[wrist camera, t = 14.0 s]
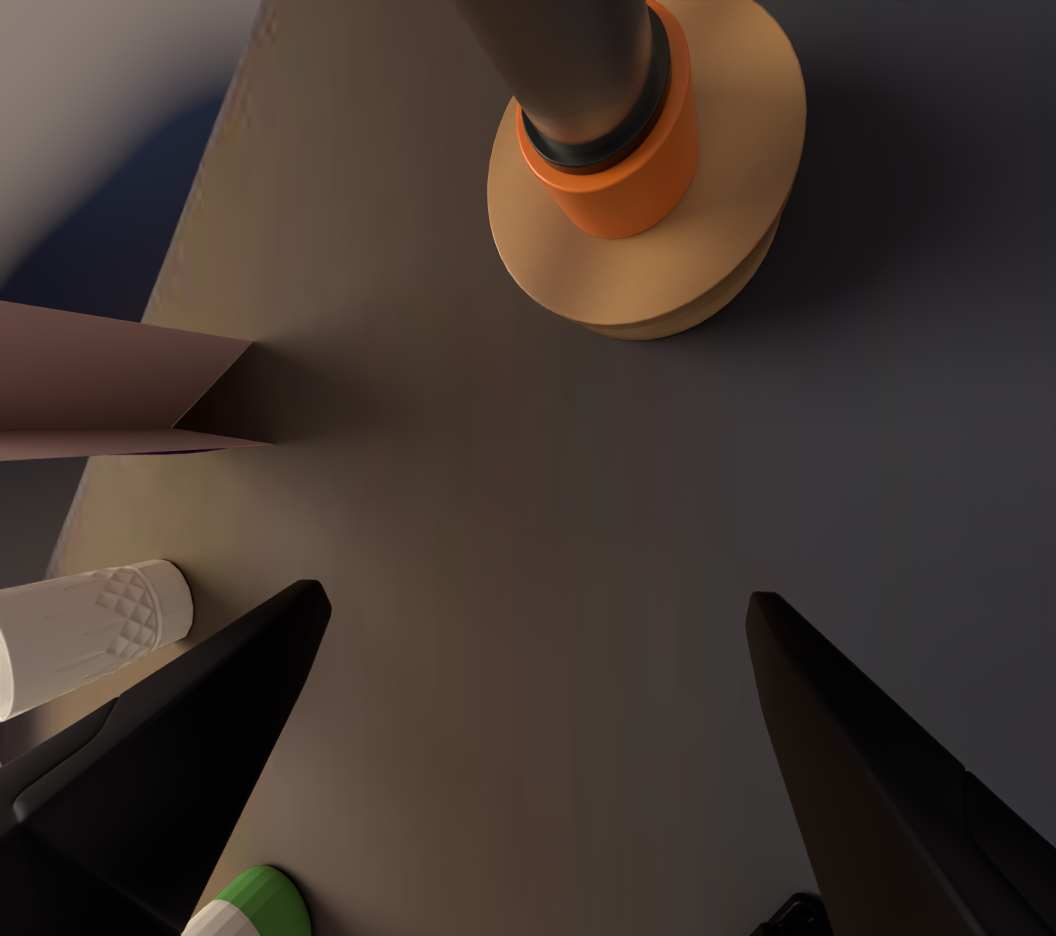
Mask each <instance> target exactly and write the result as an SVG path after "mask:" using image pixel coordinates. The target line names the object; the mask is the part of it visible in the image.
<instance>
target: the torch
mask: <svg viewBox="0 0 1056 936" xmlns="http://www.w3.org/2000/svg"><path fill="white" fill-rule="evenodd" d="M450 2H451V3H452V5H453V6H454V8H455V9H456V11H457V12H458V14H459V15H460V17H461V18H462V20H463V21H464V23H465V24H466V26H467V27H468V28H469V30H470V31H471V33H472V34H473V36H474V37H475V39H476V40H477V42H478V43H479V45H480V46H481V48H482V49H483V51H484V52H485V54H486V55H487V57H488V58H489V60H490V61H491V63H492V64H493V66H494V67H495V69H496V70H497V72H498V73H499V75H500V76H501V78H502V79H503V81H504V82H505V84H506V85H507V87H508V88H509V90H510V91H511V92H512V94H513V95H514V97H515V98H516V100H517V101H518V104H517V115H516V125H517V136H518V142H519V146H520V149H521V153H522V155H523V157H524V159H525V162H526V163H527V165H528V167H529V168H530V170H531V171H532V172H533V174H534V175H535V176H536V177H537V179H538V180H539V181H540V182H541V184H542V185H543V186H544V187H545V189H546V190H547V191H548V192H549V194H550V195H551V196H552V197H553V198H554V200H555V201H556V202H557V203H558V205H559V206H560V207H561V208H562V210H563V211H564V212H565V213H566V215H567V216H568V217H569V218H570V219H571V221H572V222H573V223H574V224H575V225H576V226H577V227H579V228H580V229H581V230H583V231H584V232H586V233H588V234H590V235H593V236H596V237H600V238H608V239H616V238H624V237H629V236H632V235H635V234H638V233H640V232H642V231H644V230H646V229H648V228H650V227H652V226H653V225H655V224H656V223H658V222H659V221H660V220H661V219H663V218H664V217H665V216H666V215H667V214H668V213H669V212H670V211H671V210H672V209H673V208H674V207H675V205H676V204H677V203H678V202H679V200H680V199H681V198H682V196H683V194H684V193H685V191H686V190H687V188H688V186H689V184H690V182H691V180H692V177H693V174H694V171H695V168H696V164H697V160H698V153H699V133H698V124H697V116H696V107H695V98H694V89H693V80H692V71H691V62H690V55H689V48H688V44H687V41H686V37H685V34H684V32H683V30H682V28H681V26H680V24H679V22H678V21H677V20H676V18H675V17H674V16H673V14H672V13H671V12H670V11H668V10H667V9H666V8H665V7H664V6H663V5H661V4H660V3H658V2H657V1H655V0H450Z"/></svg>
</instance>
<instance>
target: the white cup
mask: <svg viewBox="0 0 1056 936" xmlns="http://www.w3.org/2000/svg"><path fill="white" fill-rule="evenodd" d="M192 620H193V603H192V597H191V594H190V589H189V587H188V585H187V583H186V581H185V579H184V577H183V575H182V573H181V572H180V571H179V570H178V569H177V568H176V567H175V566H174V565H173V564H172V563H171V562H169V561H165V560H160V559H155V560H150V561H145V562H140V563H136V564H131V565H126V566H123V567H112V568H105V569H100V570H96V571H92V572H86V573H79V574H73V575H68V576H63V577H58V578H53V579H49V580H44V581H39V582H34V583H30V584H24V585H20V586H15V587H10V588H5V589H0V722H4V721H6V720H8V719H10V718H13V717H15V716H17V715H19V714H21V713H24V712H26V711H28V710H30V709H32V708H35V707H37V706H39V705H41V704H44V703H46V702H48V701H50V700H52V699H54V698H57V697H59V696H61V695H63V694H66V693H68V692H70V691H72V690H75V689H77V688H79V687H81V686H84V685H86V684H89V683H91V682H93V681H95V680H97V679H99V678H101V677H102V676H104V675H106V674H109V673H112V672H114V671H116V670H119V669H121V668H123V667H125V666H126V665H128V664H130V663H133V662H135V661H138V660H140V659H142V658H143V657H145V656H146V655H147V654H150V653H152V652H153V651H155V650H157V649H160V648H162V647H164V646H167V645H169V644H171V643H173V642H175V641H178V640H180V639H182V638H184V637H186V635H187V633H188V631H189V629H190V627H191V625H192Z"/></svg>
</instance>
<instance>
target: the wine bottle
mask: <svg viewBox="0 0 1056 936" xmlns="http://www.w3.org/2000/svg"><path fill="white" fill-rule="evenodd" d="M181 936H311V923H310V918H309V914H308V911H307V908H306V906H305V903H304V901H303V899H302V897H301V895H300V894H299V892H298V890H297V889H296V887H295V886H294V885H293V883H292V882H291V881H290V880H289V879H288V878H287V877H286V876H285V875H284V874H283V873H282V872H280V871H278V870H277V869H275V868H273V867H269V866H266V865H261V866H255V867H252V868H250V869H248V870H247V871H245V872H244V873H242V874H241V875H240V876H238V877H237V878H236V879H235V880H234V881H233V882H231V883H230V884H229V885H228V886H227V887H226V888H225V889H224V890H223V891H222V892H221V893H220V894H219V895H218V896H216V897H215V898H214V899H213V900H212V901H211V902H210V903H209V904H208V905H207V906H205V907H204V908H203V909H202V910H201V911H200V912H199V913H198V914H197V915H195V916H194V917H193V918H192V919H191V920H190V921H189V922H188V924H187V926H186V928H185V930H184V932H183V933H182V934H181Z"/></svg>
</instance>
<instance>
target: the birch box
mask: <svg viewBox="0 0 1056 936" xmlns="http://www.w3.org/2000/svg"><path fill="white" fill-rule="evenodd" d="M655 1H657V2H658V3H660V4H661V5H663V6H664V7H665V8H666V9H667V10H668V11H670V12H671V13H672V14H673V16H674V17H675V18H676V20H677V21H678V22H679V24H680V26H681V28H682V30H683V32H684V34H685V37H686V41H687V44H688V48H689V55H690V62H691V71H692V80H693V89H694V98H695V107H696V116H697V124H698V133H699V153H698V160H697V164H696V168H695V171H694V174H693V177H692V180H691V182H690V184H689V186H688V188H687V190H686V191H685V193H684V194H683V196H682V198H681V199H680V200H679V202H678V203H677V204H676V205H675V207H674V208H673V209H672V210H671V211H670V212H669V213H668V214H667V215H666V216H665V217H664V218H663V219H661V220H660V221H659V222H658V223H656V224H655V225H653V226H652V227H650V228H648V229H646V230H644V231H642V232H640V233H638V234H635V235H632V236H629V237H624V238H616V239H608V238H600V237H596V236H593V235H590V234H588V233H586V232H584V231H583V230H581V229H580V228H579V227H577V226H576V225H575V224H574V223H573V222H572V221H571V219H570V218H569V217H568V216H567V215H566V213H565V212H564V211H563V210H562V208H561V207H560V206H559V205H558V203H557V202H556V201H555V200H554V198H553V197H552V196H551V195H550V194H549V192H548V191H547V190H546V189H545V187H544V186H543V185H542V184H541V182H540V181H539V180H538V179H537V177H536V176H535V175H534V174H533V172H532V171H531V170H530V168H529V167H528V165H527V163H526V162H525V159H524V157H523V155H522V153H521V149H520V146H519V142H518V136H517V125H516V115H517V104H518V101H517V100H516V98H515V97H514V95H513V97H512V98H511V100H510V102H509V104H508V106H507V109H506V111H505V113H504V116H503V118H502V121H501V123H500V126H499V129H498V132H497V135H496V139H495V142H494V145H493V150H492V155H491V160H490V165H489V175H488V211H489V219H490V225H491V229H492V233H493V237H494V241H495V244H496V246H497V249H498V252H499V254H500V257H501V259H502V260H503V262H504V264H505V266H506V268H507V270H508V272H509V273H510V274H511V276H512V277H513V278H514V280H515V281H516V283H517V284H518V285H519V286H520V287H521V288H522V289H523V290H524V291H525V292H526V293H527V294H528V295H529V296H530V297H531V298H532V299H533V300H535V301H536V302H537V303H539V304H540V305H541V306H543V307H544V308H546V309H548V310H549V311H551V312H553V313H555V314H556V315H558V316H560V317H562V318H564V319H566V320H568V321H571V322H574V323H577V324H579V325H581V326H583V327H585V328H587V329H589V330H590V331H592V332H595V333H597V334H600V335H603V336H606V337H610V338H615V339H619V340H632V341H638V340H652V339H657V338H662V337H667V336H670V335H673V334H676V333H679V332H682V331H684V330H687V329H689V328H691V327H693V326H695V325H697V324H699V323H701V322H702V321H704V320H706V319H707V318H709V317H711V316H712V315H714V314H715V313H716V312H718V311H719V310H720V309H721V308H723V307H724V306H725V305H726V304H728V303H729V302H730V301H731V300H732V299H733V298H734V297H735V296H736V295H737V294H738V293H739V292H740V291H741V290H742V289H743V288H744V286H745V285H746V284H747V283H748V282H749V280H750V279H751V278H752V277H753V275H754V274H755V272H756V271H757V269H758V268H759V266H760V264H761V263H762V261H763V260H764V258H765V256H766V254H767V252H768V250H769V248H770V246H771V244H772V242H773V239H774V236H775V233H776V230H777V227H778V224H779V221H780V217H781V214H782V212H783V210H784V208H785V206H786V203H787V201H788V199H789V196H790V193H791V190H792V187H793V184H794V181H795V178H796V175H797V171H798V167H799V164H800V159H801V154H802V149H803V144H804V140H805V131H806V116H807V107H806V94H805V84H804V80H803V76H802V72H801V67H800V63H799V61H798V58H797V56H796V54H795V51H794V49H793V46H792V44H791V42H790V40H789V39H788V37H787V36H786V34H785V33H784V31H783V29H782V28H781V26H780V25H779V23H778V22H777V21H776V20H775V19H774V18H773V17H772V16H771V15H770V14H769V13H768V12H767V11H766V10H765V9H764V8H763V7H762V6H761V5H760V4H758V3H757V2H755V1H754V0H655Z"/></svg>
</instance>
